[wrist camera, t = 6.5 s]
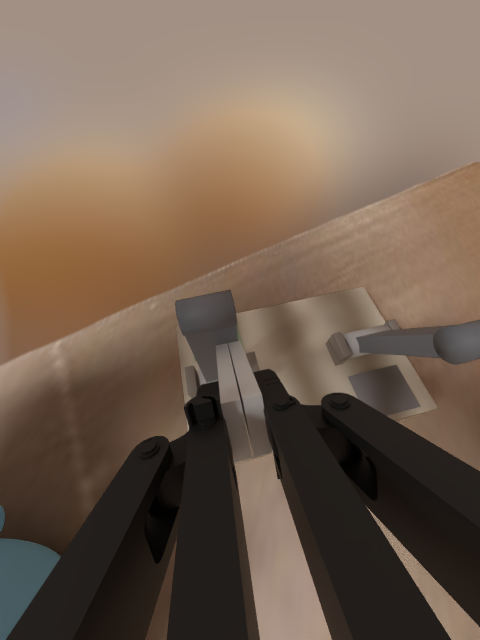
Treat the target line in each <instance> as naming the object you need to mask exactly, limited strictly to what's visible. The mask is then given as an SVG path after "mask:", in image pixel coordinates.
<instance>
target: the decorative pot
mask: <svg viewBox="0 0 480 640" xmlns="http://www.w3.org/2000/svg"><path fill="white" fill-rule="evenodd" d="M4 521H5V513H4V509H3V507H2V506H1V505H0V532H1V531H2V529H3V526H4ZM60 558H61V556H60V555H58V554H57V553H56V552H55V551H53V550H51V549H49V548H47V547H45V546H43V545H40V544H37V543H34V542H30V541H24V540H19V539H4V538H0V640H6V638H7V637H8V635H9V634H10V632H11V631H12V629H13V628H14V626H15V625H16V623H17V622H18V620H19V619H20V617H21V616H22V615H23V613H24V612H25V610H26V609H27V607H28V606H29V604H30V603H31V601H32V600H33V598H34V597H35V595H36V594H37V592H38V591H39V589H40V588H41V586H42V585H43V583H44V582H45V580H46V579H47V577H48V576H49V574H50V573H51V571H52V570H53V568H54V567H55V565H56V564H57V562H58V561H59V559H60Z"/></svg>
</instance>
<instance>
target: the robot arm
mask: <svg viewBox="0 0 480 640" xmlns="http://www.w3.org/2000/svg"><path fill="white" fill-rule="evenodd" d="M228 344H229V349H230V353H229V349H228ZM228 344H227V343H225V344H221V345H216V357H217V368H218V380H219V381H215V382H211V383H206V384H202V385H201V386H200V387H199V388H198V390H197V394H196V397H194V398H192V399H190V400H189V401H188V402H187V403H186V404H185V407H184V410H185V414H186V417H187V421H188V425H189V431H188V432H187V433H186V434H185V435H183V436H181V437H180V438H178V439H176V440H174V441H172V442H169V441H168V439H167V438H165V437H164V436H155V437H151V438H148V439H146V440H144V441H143V442H141V443H140V444H138V445H137V446H136V447H135V448H134V449H133V451H132V452H131V453H130V455H129V456H128V458H127V459H126V461H125V462H124V464H123V465H122V467H121V468H120V470H119V471H118V473H117V474H116V476H115V477H114V479H113V480H112V482H111V483H110V485H109V486H108V488H107V489H106V491H105V492H104V494H103V495H102V497H101V498H100V500H99V501H98V503H97V504H96V506H95V507H94V509H93V510H92V512H91V513H90V515H89V516H88V518H87V519H86V521H85V522H84V524H83V525H82V526H81V528H80V529H79V531H78V532H77V534H76V535H75V537H74V538H73V540H72V541H71V543H70V544H69V546H68V547H67V549H66V550H65V552H64V553H63V555H62V556H61V558H60V559H59V561H58V562H57V564H56V565H55V567H54V568H53V570H52V571H51V573H50V574H49V576H48V577H47V579H46V580H45V582H44V583H43V585H42V586H41V588H40V589H39V591H38V592H37V594H36V595H35V597H34V598H33V600H32V601H31V603H30V604H29V606H28V607H27V609H26V610H25V612H24V613H23V615H22V616H21V617H20V619H19V620H18V622H17V623H16V625H15V626H14V628H13V629H12V631H11V632H10V634H9V635H8V637H7V638H6V640H145V637H146V634H147V631H148V628H149V625H150V621H151V618H152V615H153V612H154V608H155V605H156V602H157V599H158V596H159V592H160V589H161V586H162V583H163V580H164V576H165V573H166V570H167V567H168V564H169V560H170V557H171V554H172V551H173V548H174V544H175V541H176V538H177V547H176V556H175V566H174V575H173V585H172V595H171V604H170V614H169V623H168V633H167V640H260V637H259V630H258V623H257V616H256V609H255V602H254V595H253V588H252V581H251V574H250V567H249V560H248V553H247V546H246V539H245V532H244V525H243V518H242V511H241V504H240V497H239V490H238V483H237V476H236V470H235V466H234V463H235V462H239V461H243V460H247V459H251V458H252V454H251V449H250V444H249V439H248V434H249V438H250V443H251V447H252V451H253V455H254V458H255V457H259V456H263V455H266V454H270V453H272V451H273V454H274V460H275V466H276V471H277V477H278V479H280V480H281V483H282V486H283V489H284V492H285V495H286V499H287V502H288V505H289V508H290V511H291V514H292V517H293V520H294V523H295V526H296V530H297V533H298V536H299V539H300V542H301V545H302V548H303V551H304V554H305V557H306V560H307V564H308V567H309V570H310V573H311V576H312V579H313V582H314V585H315V588H316V591H317V594H318V598H319V601H320V604H321V607H322V610H323V613H324V616H325V619H326V622H327V625H328V628H329V632H330V635H331V638H332V640H451V639H450V637H449V635H448V634H447V632H446V631H445V629H444V628H443V626H442V624H441V623H440V621H439V620H438V618H437V617H436V615H435V613H434V612H433V610H432V609H431V607H430V606H429V604H428V603H427V601H426V599H425V598H424V596H423V595H422V593H421V592H420V590H419V588H418V587H417V585H416V584H415V582H414V581H413V579H412V577H411V576H410V574H409V573H408V571H407V570H406V568H405V567H404V565H403V563H402V562H401V560H400V559H399V557H398V556H397V554H396V552H395V551H394V549H393V548H392V546H391V545H390V543H389V541H388V540H387V538H386V537H385V535H384V534H383V532H382V531H381V529H380V527H379V526H378V524H377V523H376V521H375V520H374V518H373V516H372V515H371V513H370V512H369V510H368V509H367V507H368V508H369V509H370V510H371V512H372V513H373V514H374V515H375V516H376V517H377V518H378V519H379V520H380V521H381V522H382V523H383V524H384V525H385V526H386V528H387V529H388V530H389V531H390V532H391V533H392V534H393V535H394V536H395V537H396V538H397V539H398V540H399V541H400V542H401V543H402V545H403V546H404V547H405V548H406V549H407V550H408V551H409V552H410V553H411V554H412V555H413V556H414V557H415V558H416V559H417V561H418V562H419V563H420V564H421V565H422V566H423V567H424V568H425V569H426V570H427V571H428V572H429V573H430V574H431V575H432V577H433V578H434V579H435V580H436V581H437V582H438V583H439V584H440V585H441V586H442V587H443V588H444V589H445V590H446V591H447V592H448V594H449V595H450V596H451V597H452V598H453V599H454V600H455V601H456V602H457V603H458V604H459V605H460V606H461V607H462V608H463V610H464V611H465V612H466V613H467V614H468V615H469V616H470V617H471V618H472V619H473V620H474V621H475V622H476V623H477V624H478V626H479V627H480V471H478V470H476V469H475V468H473V467H471V466H470V465H468V464H466V463H465V462H463V461H461V460H460V459H458V458H456V457H454V456H453V455H451V454H449V453H448V452H446V451H444V450H443V449H441V448H439V447H438V446H436V445H434V444H433V443H431V442H429V441H428V440H426V439H424V438H423V437H421V436H419V435H418V434H416V433H414V432H413V431H411V430H409V429H408V428H406V427H404V426H403V425H401V424H399V423H398V422H396V421H394V420H393V419H391V418H389V417H388V416H386V415H384V414H382V413H381V412H379V411H377V410H376V409H374V408H372V407H371V406H369V405H367V404H366V403H364V402H362V401H361V400H359V399H357V398H356V397H354V396H352V395H349V394H346V393H341V392H337V393H330V394H327V395H325V396H324V397H323V398H322V400H321V405H304V404H300V402H299V401H298V400H297V399H296V398H295V397H293V396H291V395H289V394H288V392H287V390H286V389H285V387H284V386H283V384H282V382H281V381H280V379H279V378H278V376H277V374H276V373H275V372H274V371H272V370H270V369H265V370H260V371H256V372H252V369H251V367H250V364H249V362H248V359H247V357H246V354H245V352H244V349H243V347H242V345H241V342H240V340H239V341H235V342H230V343H228ZM230 354H231V357H230ZM231 359H232V361H231ZM232 364H233V366H232ZM233 369H234V370H233ZM243 413H244V414H243ZM244 417H245V419H244ZM245 422H246V424H245ZM246 426H247V429H246ZM247 430H248V434H247ZM271 448H272V449H271ZM366 506H367V507H366ZM177 535H178V537H177Z"/></svg>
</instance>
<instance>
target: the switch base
mask: <svg viewBox="0 0 480 640" xmlns="http://www.w3.org/2000/svg"><path fill="white" fill-rule="evenodd" d="M236 316H237V335H238V341H239V340H240V342H241V345H242V347H243V349H244V352H245V354H246V357H247V359H248V362H249V364H250V367H251V369H252V372H256V371H260V370H265V369H270V370H272V371H274V372H275V373H276V374H277V376H278V378H279V379H280V381H281V382H282V384H283V386H284V387H285V389H286V390H287V392H288V394H289V395H291V396H293V397H295V398H296V399H297V400H298V401H299V402H300V404H304V405H321V400H322V398H323V397H324V396H325V395H327V394H330V393H337V392H341V393H346V394H349V395H352V396H354V397H356V398H357V399H359V400H361V401H362V402H364V403H366V404H367V405H369V406H371V407H372V408H374V409H376V410H377V411H379V412H381V413H382V414H384V415H386V416H388V417H389V418H391V419H393V420H398V419H402V418H405V417H409V416H413V415H417V414H420V413H424V412H428V411H431V410H435V409H438V407H437V405H436V404H435V402H434V400H433V399H432V397H431V396H430V394H429V392H428V391H427V389H426V387H425V386H424V384H423V383H422V381H421V379H420V378H419V376H418V374H417V373H416V371H415V369H414V368H413V366H412V365H411V363H410V361H409V360H408V358H407V356H404V355H389V354H374V353H371V354H367V355H363V356H359V357H355V358H350V357H351V356H352V354H351V352H350V350H349V348H348V345H347V343H346V341H345V339H344V337H343V335H342V334H344V333H349V332H353V331H358V330H362V329H366V328H371V327H375V326H379V325H386V326H387V327H389V328H390V330H398V329H401V328H400V327H399V325H398V323H397V322H396V320H395V319H394V320H390V321H387V322H385V321H384V319H383V317H382V316H381V314H380V313H379V311H378V309H377V308H376V306H375V304H374V303H373V301H372V300H371V298H370V296H369V295H368V293H367V291H366V290H365V288H364V287H359V288H354V289H349V290H344V291H340V292H335V293H330V294H325V295H321V296H316V297H311V298H307V299H302V300H297V301H292V302H288V303H283V304H278V305H273V306H269V307H264V308H259V309H254V310H250V311H245V312H240V313H236ZM176 333H177V341H178V350H179V359H180V367H181V376H182V384H183V393H184V402H185V404H186V403H187V402H188V401H189V400H190V399H192V398H194V397H196V394H197V390H198V388H199V387H200V386H201V383H200V378H199V365H198V363H197V361H196V359H195V357H194V355H193V353H192V350H191V348H190V346H189V344H188V342H187V340H186V338H185V336H183V335H182V332H181V330H180V326H176ZM243 414H244V413H243ZM186 419H187V417H186ZM244 419H245V417H244ZM245 424H246V422H245ZM187 428H188V431H189V425H188V421H187ZM246 429H247V426H246ZM247 434H248V430H247ZM248 439H249V444H250V449H251V454H252V458H251V459H254V455H253V451H252V447H251V443H250V438H249V434H248ZM271 449H272V448H271ZM270 454H273V451H272V453H270ZM266 455H269V454H266ZM266 455H263V456H266ZM259 457H262V456H259ZM255 458H258V457H255ZM251 459H247V460H251ZM247 460H243V461H247ZM243 461H239V462H235V463H234V464H236V463H240V462H243Z"/></svg>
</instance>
